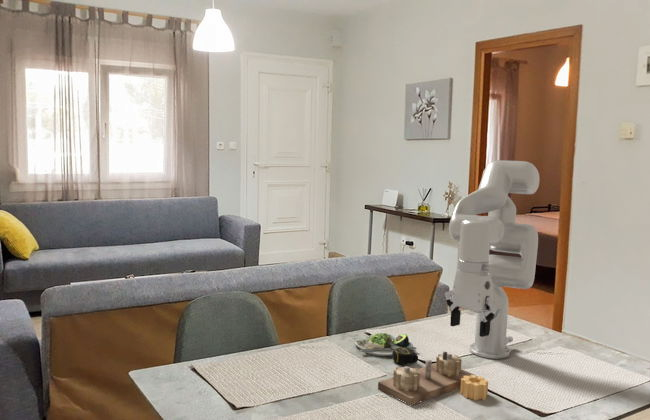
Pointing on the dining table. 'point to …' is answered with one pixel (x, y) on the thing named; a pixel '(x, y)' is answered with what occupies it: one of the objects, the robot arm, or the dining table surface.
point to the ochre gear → (474, 387)
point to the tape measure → (404, 356)
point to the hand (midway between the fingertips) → (469, 330)
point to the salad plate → (383, 344)
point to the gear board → (425, 379)
